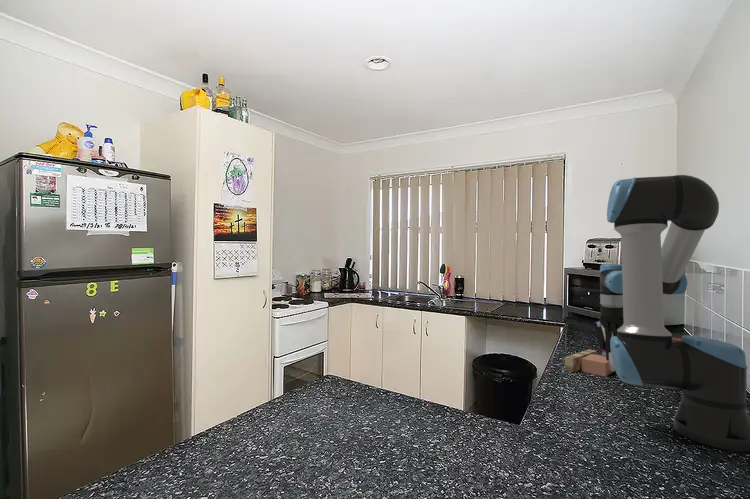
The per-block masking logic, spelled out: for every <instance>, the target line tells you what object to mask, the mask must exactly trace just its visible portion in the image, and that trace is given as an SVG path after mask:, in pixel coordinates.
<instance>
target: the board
mask: <svg viewBox="0 0 750 499" xmlns="http://www.w3.org/2000/svg"><path fill="white" fill-rule="evenodd" d="M591 354H595V355H598V353H597V350H593V349H585V350H582V351H580V352H576V353H574V354H570V355H567V356H564V371H565V372H566V371H567V372H571V373H575V372H577V371H580V370H582V358H584V357H586V356H588V355H591Z"/></svg>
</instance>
